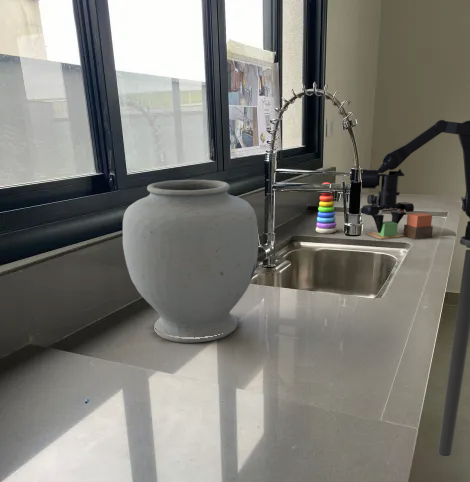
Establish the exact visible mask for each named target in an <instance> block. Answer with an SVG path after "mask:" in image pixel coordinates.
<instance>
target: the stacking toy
mask: <svg viewBox="0 0 470 482" xmlns="http://www.w3.org/2000/svg"><path fill="white" fill-rule="evenodd" d="M322 184H332V183H331V182H323V183H322ZM320 194H321V195H320V196H319V204H318V205H319V206H318V208H317V210H318V212H317V218H316V221H317V222H316V227H315V231H316V233H318V234H327V235H328V234H334V233H336V232H337V230H338V229H337V222H336V217H335V215H336V213H335V206H334V205H335V202H334V201H333V200H334V196H333V195H332V194H333V192H332V193H320Z"/></svg>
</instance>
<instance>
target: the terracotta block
mask: <svg viewBox="0 0 470 482" xmlns="http://www.w3.org/2000/svg"><path fill="white" fill-rule="evenodd" d="M406 215H407V217H406V224H407V225H409V226H413V227H416V228H418V227H428V226H432V223H433V222H432V221H433V215H432V214H430V213H426V212H411V213H410V212H409V213H407V214H406Z"/></svg>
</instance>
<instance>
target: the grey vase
mask: <svg viewBox="0 0 470 482" xmlns="http://www.w3.org/2000/svg"><path fill="white" fill-rule="evenodd" d="M146 190H147V191H148V192H149V194H148V195H147V196H144V197H143V198H140V199H138V200H136V201H134V202H133V203H132V204H130V205H129V206H128V207H127V208H126V209H125V212H124V214H123V218H122V249H123V254H124V260H125V264H126V268H127V272H128V275H129V277H130V279H131V282H132V283H133V285H134V288H135V289H136V290H137V292H138V293H139V295H140V296H141V297H142V298H143V299H144V300H145V301H146V302H147V304H149V305H150V306H151V308H153V309H154V311H156V312H157V314H158V315H159V316H160V317H158V319H157V320H156V321H155V323H154V326H153V329H154V332H155V333H156V334H157V336H158V337H161V338H162V339H164V340H167V341H170V342H174V343H183V344H184V343H187V344H191V343H192V344H195V343H205V342H210V341H216V340H219V339H222V338H225V337H227V336H229V335H231V334H232V333H233V332H234V331H236V329H237V327H238V320H237V318H236V317H235V316H234V315H233V314H232V313H231V311H232V310H233V309H234V308H235V306H237V304H238V303H239V301H241V299H242V298H243V296H244V295H245V294H246V291H247V290H248V289H249V286H250V284H251V282H252V279H253V277H254V274H255V272H256V268H257V264H258V263H257V262H258V257H259V227H258V219H257V215H256V212H255V209H254V208H253V207H252V205H251V204H250V202H248V201H247V200H245V199H244V198H241V197H239V196H236V195H231V194H229V193H228V191H229V190H230V184H229V183H227V182H226V181H221V180H209V179H175V180H174V179H172V180H163V181H159V182H158V181H157V182H153V183H150V184H148V185H147V187H146ZM155 328H156V329H157V330H158V331H160V332H162V333H164V334H167V335H172V336H179V337H194V338H195V337H205V336H213V337H208V338H200V339H182V338H175V337H170V336H167V335H164V334H162V333H160V332H158V331H157V330H156V329H155ZM222 333H223V334H222ZM218 334H220V335H218ZM214 335H217V336H214Z"/></svg>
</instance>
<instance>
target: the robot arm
mask: <svg viewBox="0 0 470 482" xmlns="http://www.w3.org/2000/svg"><path fill="white" fill-rule="evenodd" d="M442 133H444V134H445V133H446V134H452V135H457V136H458V139H459V143H460V147H461V150H462V156H463V157H462V159H463V168H464V181H465V195H464V196H461V197H460V200H461V210H462V212H464V214H465V215H466V217H468V218H469V220H468V221H467V222H466V226H465V232H464V236H461V237H462V238H465V239H468V240H470V119H469V120H464V121H462V122H456V121H449V120H448V121H446V120H444V119H439V120H437V121H435V123H434V124H432V125H431V126H430V127H428V128H427V129H426V130H424V131H422V132H421V133H420V134H418V135H417V136H416V137H414V138H413V139H411V140H410V141H408V142H407V143H405V144H403V145H402V146H399V147H397V148H396V149H394V150H391V151H389V152H387V153H386V154H385V155H384V157H383V159H382V164H381V165H380V166H378V168H377V169H367V168H363V169H361V171H362V170H363V173H362V172H361V174H362V189H365V190H368V189H369V190H371V189H373V190H377V187H379V186H380V184H381V186H380V190H379V191H378V193H377V195H375V194H368V195H367V196H366V197H367V198H366V202H367V203H366V204H365V205H362V207H361V209H360V212H361V214H362V215H366V216H371V217H372V218H373V220H374V223H375V227H376V230H377V232H378V233H381V229H382V224H383V222H384V217H385V215H384V214H382V213H383V212H390V214H391V221H393V222H395V223H398V224H400V222H401V220H402V219H403V218H404V216H405V215H407V213H410V212H411V213H414V212H415V205H414V203H413V202H407V201H400V202H397V201H398V196H400V191H398V189H399V180H400V179H399V178H400V177H404V176H405V172H403V170H402V169H401V168H399V169H398V170H396V169H397V168H398V167H400V165H402V163H404V162H405V160H406V159H407V158H408V157H409V156H410V155H411V154H413V153H414V152H416V151H417V150H419V149H420V148H422V147H423V146H425V145H426V144H427V143H429V142H430V141H431V140H433V139H435V138H436V137H438V136H439V135H440V134H442ZM387 171H388V173H385V172H387ZM380 182H381V183H380ZM362 189H361V190H362Z"/></svg>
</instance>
